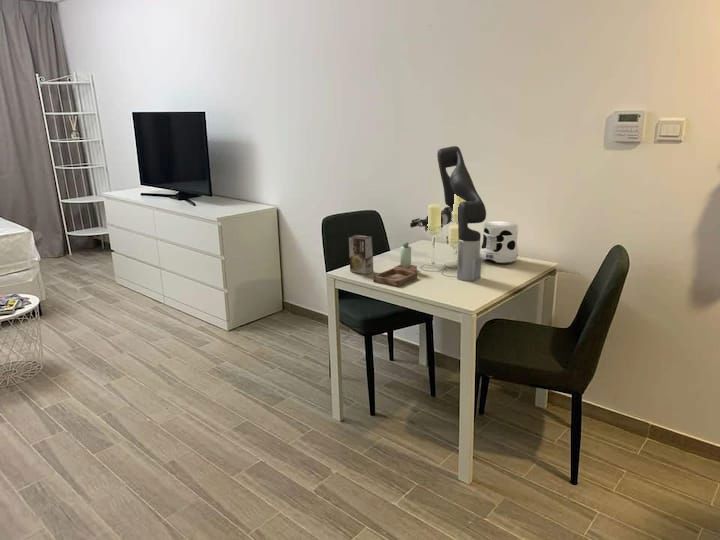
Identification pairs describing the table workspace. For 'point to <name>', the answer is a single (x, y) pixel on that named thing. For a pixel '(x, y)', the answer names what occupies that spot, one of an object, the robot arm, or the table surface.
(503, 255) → the cow print rice cooker
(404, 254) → the bottle
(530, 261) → the table surface
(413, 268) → the holder
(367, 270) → the coffee box
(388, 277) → the tray
